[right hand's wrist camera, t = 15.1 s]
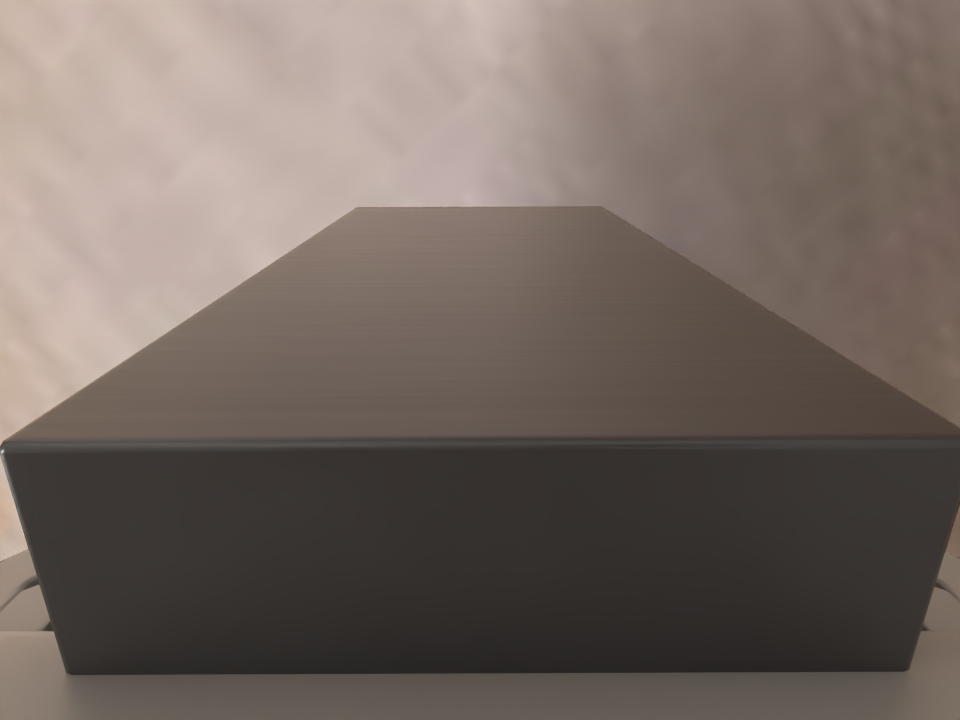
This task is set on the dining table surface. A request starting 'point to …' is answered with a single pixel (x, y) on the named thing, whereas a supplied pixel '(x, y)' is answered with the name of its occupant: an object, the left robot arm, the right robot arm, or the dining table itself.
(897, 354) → the dining table surface
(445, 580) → the box
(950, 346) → the dining table surface
